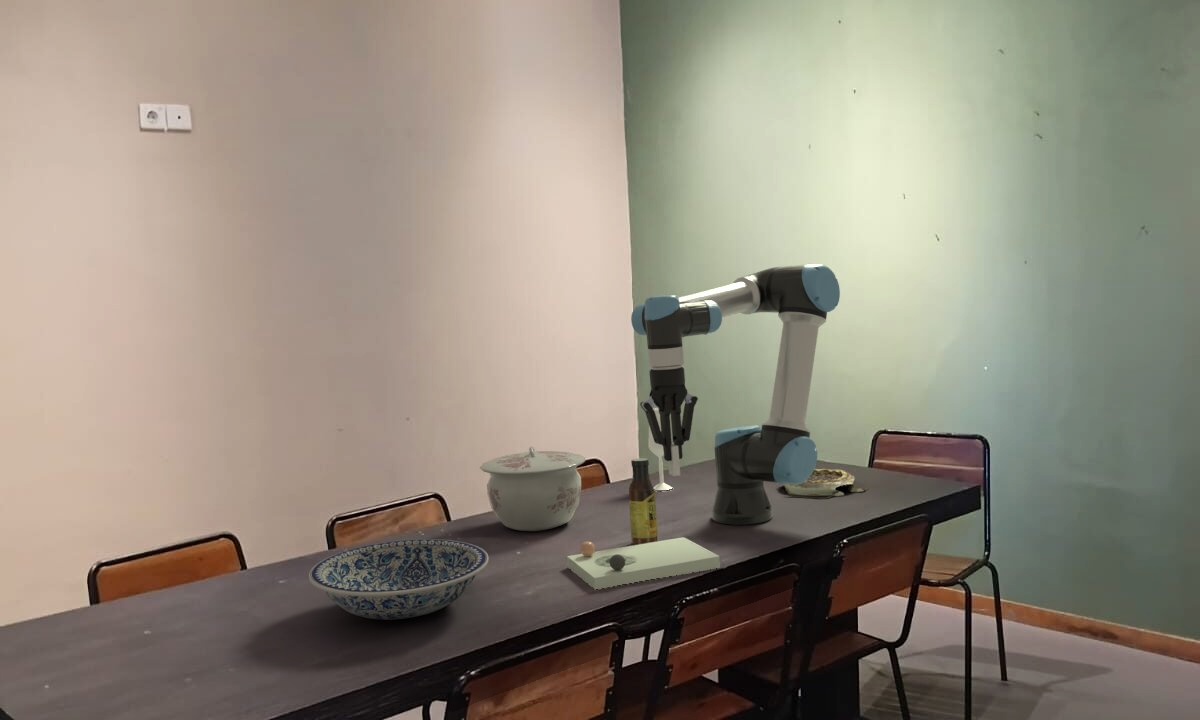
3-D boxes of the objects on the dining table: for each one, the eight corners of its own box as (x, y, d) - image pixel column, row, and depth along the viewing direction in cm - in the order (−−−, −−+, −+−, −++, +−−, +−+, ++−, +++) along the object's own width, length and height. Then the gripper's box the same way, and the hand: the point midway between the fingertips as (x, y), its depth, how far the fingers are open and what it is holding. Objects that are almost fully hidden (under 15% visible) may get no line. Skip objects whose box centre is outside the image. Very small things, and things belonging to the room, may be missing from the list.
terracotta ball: (592, 553, 209) (591, 538, 209) (597, 556, 206) (596, 542, 206) (578, 555, 208) (577, 541, 208) (583, 559, 205) (582, 544, 205)
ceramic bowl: (407, 655, 163) (402, 598, 162) (274, 628, 181) (269, 577, 181) (526, 593, 192) (522, 545, 191) (401, 576, 210) (397, 531, 209)
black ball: (622, 566, 198) (621, 551, 197) (627, 570, 195) (626, 555, 194) (607, 569, 196) (606, 554, 196) (613, 573, 193) (612, 557, 193)
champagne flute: (651, 487, 286) (646, 407, 284) (674, 486, 285) (669, 406, 283) (649, 491, 279) (644, 410, 277) (672, 491, 278) (667, 409, 276)
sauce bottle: (656, 546, 220) (650, 461, 219) (629, 546, 222) (624, 462, 220) (660, 539, 227) (654, 456, 225) (634, 539, 228) (629, 457, 226)
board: (684, 547, 218) (683, 537, 217) (720, 567, 201) (719, 556, 200) (567, 567, 208) (567, 556, 208) (595, 590, 191) (594, 577, 191)
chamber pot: (526, 545, 229) (520, 460, 227) (464, 528, 250) (457, 450, 248) (613, 521, 247) (607, 442, 246) (547, 507, 268) (542, 434, 266)
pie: (751, 496, 267) (750, 479, 267) (790, 478, 289) (789, 462, 289) (848, 503, 251) (847, 485, 251) (881, 483, 274) (880, 466, 273)
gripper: (686, 363, 211) (694, 467, 213) (632, 369, 207) (640, 476, 209) (701, 364, 204) (709, 473, 206) (645, 371, 200) (654, 482, 202)
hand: (674, 474), depth 207 cm, fingers closed
